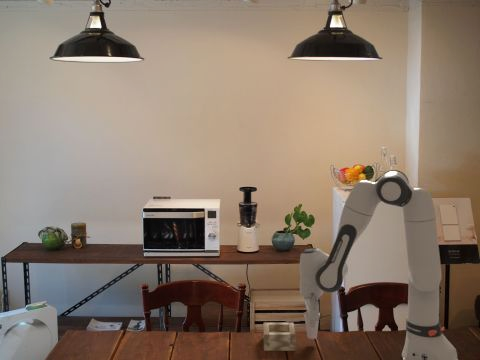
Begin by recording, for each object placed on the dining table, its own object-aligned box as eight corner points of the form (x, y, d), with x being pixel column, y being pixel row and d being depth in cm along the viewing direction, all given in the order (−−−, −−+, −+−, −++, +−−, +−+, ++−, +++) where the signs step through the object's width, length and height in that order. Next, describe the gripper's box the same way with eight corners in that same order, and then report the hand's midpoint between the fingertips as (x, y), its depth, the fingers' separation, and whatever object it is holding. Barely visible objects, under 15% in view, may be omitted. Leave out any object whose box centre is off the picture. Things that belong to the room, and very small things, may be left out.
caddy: (293, 337, 252) (293, 322, 251) (295, 350, 240) (295, 334, 239) (263, 338, 252) (263, 322, 251) (264, 350, 240) (264, 334, 239)
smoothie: (319, 340, 242) (319, 305, 240) (303, 339, 243) (302, 305, 241) (320, 334, 248) (320, 300, 246) (304, 333, 249) (304, 299, 247)
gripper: (322, 298, 232) (323, 333, 234) (316, 281, 253) (317, 314, 255) (305, 298, 232) (306, 334, 234) (301, 281, 253) (301, 314, 255)
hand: (312, 323), depth 245 cm, fingers closed on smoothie, 5 cm apart
